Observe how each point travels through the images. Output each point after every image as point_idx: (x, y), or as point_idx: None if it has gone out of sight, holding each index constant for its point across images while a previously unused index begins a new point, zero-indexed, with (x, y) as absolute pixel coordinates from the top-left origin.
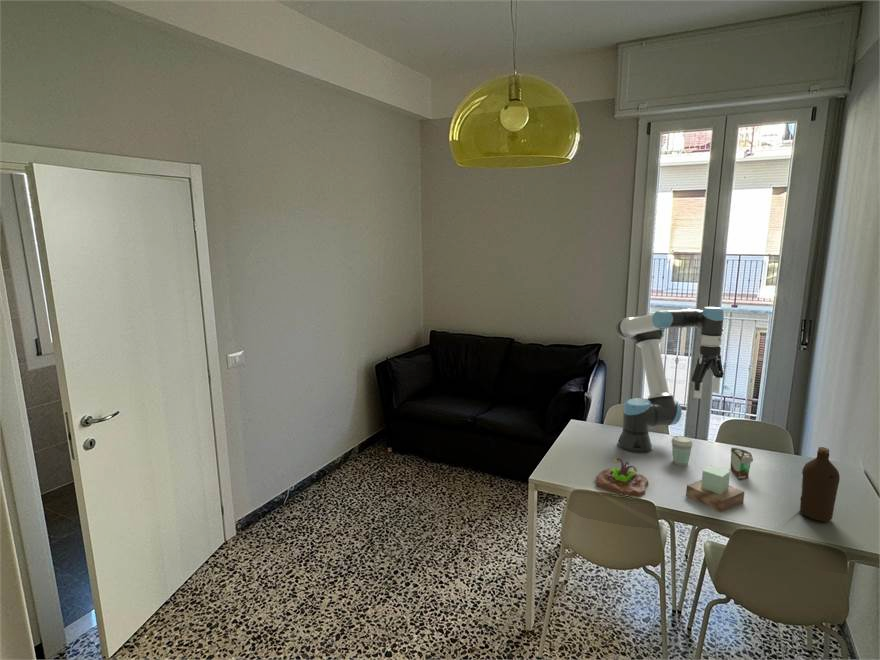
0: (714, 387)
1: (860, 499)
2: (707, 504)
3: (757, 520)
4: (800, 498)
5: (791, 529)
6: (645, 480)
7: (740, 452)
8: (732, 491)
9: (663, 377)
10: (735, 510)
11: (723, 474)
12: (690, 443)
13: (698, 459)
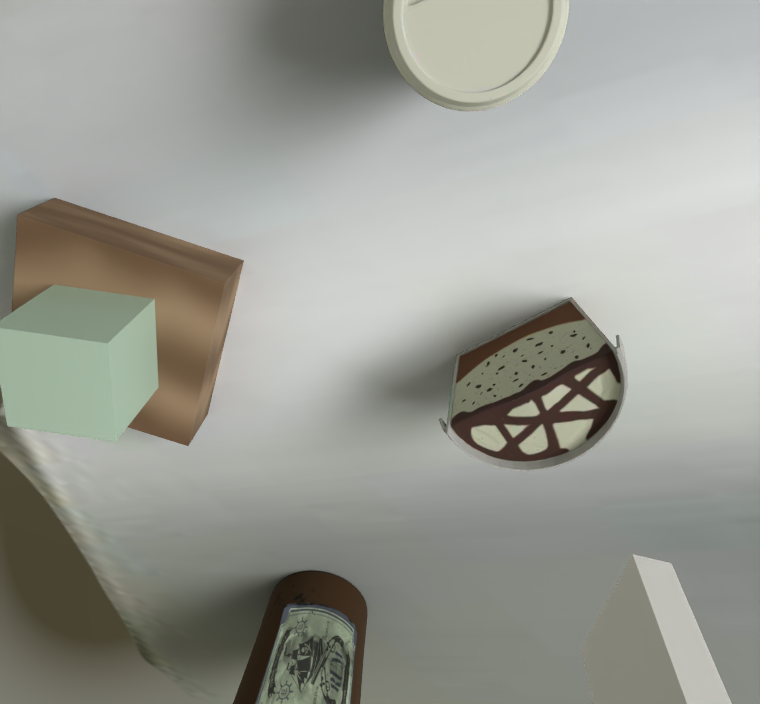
0: (641, 698)
1: (566, 699)
2: None
3: (100, 474)
4: (293, 609)
5: (132, 558)
6: None
7: (583, 402)
8: (144, 406)
9: None
10: None
11: (42, 424)
12: (449, 102)
13: (642, 93)
